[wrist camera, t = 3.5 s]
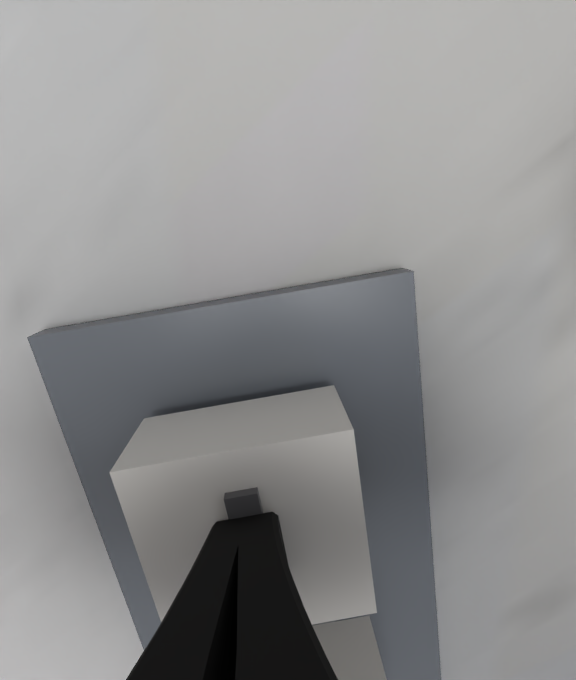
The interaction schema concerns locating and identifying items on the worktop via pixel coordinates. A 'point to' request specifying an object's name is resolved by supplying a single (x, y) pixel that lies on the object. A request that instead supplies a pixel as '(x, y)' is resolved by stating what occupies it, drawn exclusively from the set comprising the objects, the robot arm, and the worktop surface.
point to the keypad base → (257, 382)
